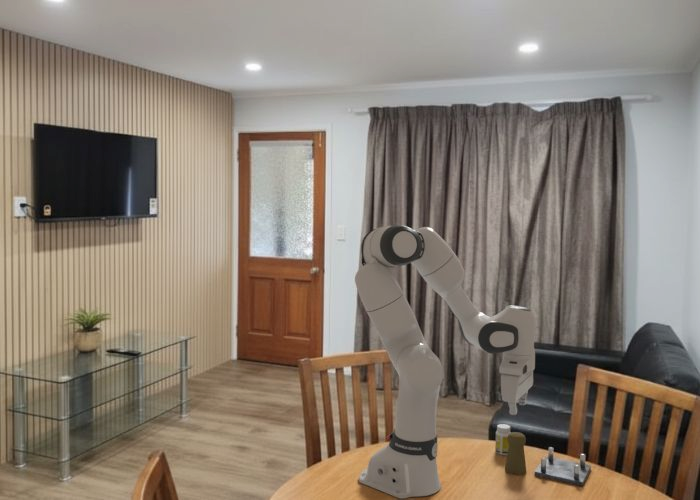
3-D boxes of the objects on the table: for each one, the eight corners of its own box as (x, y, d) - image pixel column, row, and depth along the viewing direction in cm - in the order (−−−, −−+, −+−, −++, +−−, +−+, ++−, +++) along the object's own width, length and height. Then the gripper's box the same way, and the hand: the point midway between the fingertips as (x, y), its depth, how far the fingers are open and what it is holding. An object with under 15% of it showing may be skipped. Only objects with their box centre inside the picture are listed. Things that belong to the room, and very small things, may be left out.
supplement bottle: (513, 451, 192) (513, 425, 191) (508, 456, 188) (509, 430, 188) (498, 448, 195) (498, 422, 194) (493, 453, 191) (493, 426, 190)
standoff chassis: (534, 475, 175) (534, 459, 175) (545, 459, 186) (545, 444, 186) (582, 486, 168) (583, 469, 168) (590, 469, 180) (591, 453, 179)
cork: (527, 476, 175) (528, 438, 174) (505, 474, 176) (506, 436, 175) (525, 467, 181) (526, 430, 180) (504, 465, 182) (505, 429, 181)
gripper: (517, 353, 187) (517, 397, 188) (497, 368, 169) (496, 417, 170) (539, 355, 183) (538, 401, 184) (520, 371, 166) (519, 421, 167)
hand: (517, 409), depth 177 cm, fingers open, 8 cm apart
